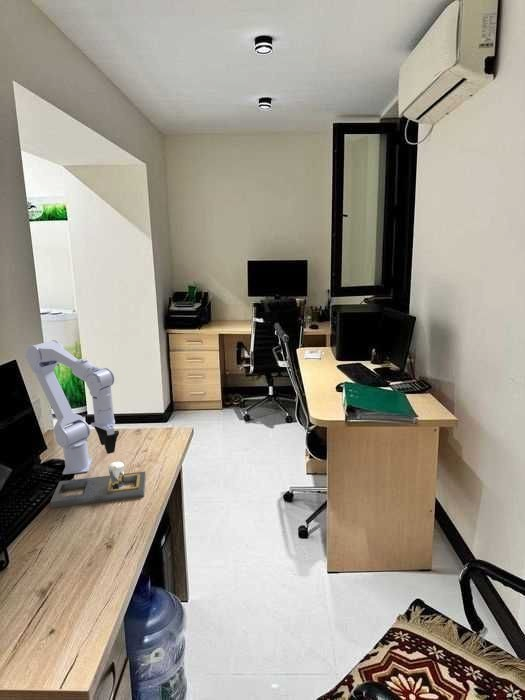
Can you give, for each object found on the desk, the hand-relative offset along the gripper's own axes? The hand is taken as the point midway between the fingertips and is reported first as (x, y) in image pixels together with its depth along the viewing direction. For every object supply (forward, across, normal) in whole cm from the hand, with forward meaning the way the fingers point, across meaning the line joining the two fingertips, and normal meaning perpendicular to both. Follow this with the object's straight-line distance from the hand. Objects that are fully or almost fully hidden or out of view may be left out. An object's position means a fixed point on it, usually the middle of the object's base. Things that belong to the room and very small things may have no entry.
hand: (107, 448), depth 147 cm
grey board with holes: (+10, +7, -5) cm, 13 cm away
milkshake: (+11, +9, 0) cm, 14 cm away
